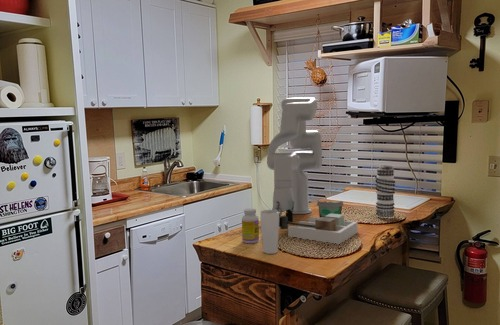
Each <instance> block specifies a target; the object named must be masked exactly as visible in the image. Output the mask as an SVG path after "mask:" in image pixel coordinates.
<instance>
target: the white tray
mask: <svg viewBox="0 0 500 325" xmlns="http://www.w3.org/2000/svg"><path fill="white" fill-rule="evenodd" d="M319 218H320V216H319V217H318V216H308V221H303V220H298V223H299V224H307V225H315V220H317V219H319ZM358 227H359V224H358V221H354V220H353V221H352V220H345V219H344V226H338V225H336V232H335V231H327V230H320V229H315V227H307V226H299V225H288V229H287V230H288V237H289V236H293V237H297V238H296V239H299V238H302V239H301V240H306V239H309V240H308V241H312V240H316V241H315V242H319V241H323V242H322V243H326V242H330V243H329V244H332V243H336V244H335V245H339V244H340V243H341V244H343V243H344V242H345V240H346V241H347V240H349V239H350V238H352V237H353V236H355V235H356V234H358V231H359V229H358ZM351 236H352V237H351ZM348 238H349V239H348ZM342 242H343V243H342ZM341 244H340V245H341Z"/></svg>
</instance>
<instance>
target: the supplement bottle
mask: <svg viewBox="0 0 500 325" xmlns="http://www.w3.org/2000/svg"><path fill="white" fill-rule="evenodd" d="M243 212H244V213H243V214H244V215H243V216H242V217H241V236H242V237H241V238H242V239H241V240H242V242H243V243H244V242H245V244H255V243H258V242H259V240H260V230H259V228H260V227H259V226H260V225H259V223H260V221H259V216H257V214H256V213H257V209H255V208H245V209H243Z"/></svg>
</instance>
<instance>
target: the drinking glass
mask: <svg viewBox="0 0 500 325" xmlns="http://www.w3.org/2000/svg"><path fill="white" fill-rule="evenodd" d="M279 213H280V212H279V211H277V210H272V209H264V210H261V211H260V230H261V240H262V251H263V253H264V254H266V255H273V254H277V253H278V251H279V232H280V227H279Z"/></svg>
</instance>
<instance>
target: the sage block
mask: <svg viewBox="0 0 500 325" xmlns="http://www.w3.org/2000/svg"><path fill="white" fill-rule="evenodd" d="M325 217H326V218H334V219H335V225H338V226H344V220H345V214H342V213H341V214H332V213H330V214H328V215H326V216H325Z"/></svg>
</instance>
